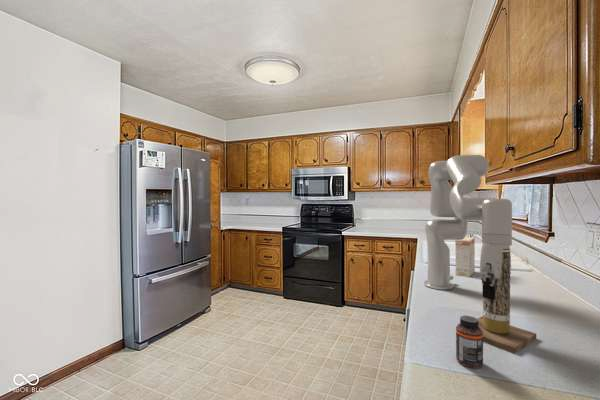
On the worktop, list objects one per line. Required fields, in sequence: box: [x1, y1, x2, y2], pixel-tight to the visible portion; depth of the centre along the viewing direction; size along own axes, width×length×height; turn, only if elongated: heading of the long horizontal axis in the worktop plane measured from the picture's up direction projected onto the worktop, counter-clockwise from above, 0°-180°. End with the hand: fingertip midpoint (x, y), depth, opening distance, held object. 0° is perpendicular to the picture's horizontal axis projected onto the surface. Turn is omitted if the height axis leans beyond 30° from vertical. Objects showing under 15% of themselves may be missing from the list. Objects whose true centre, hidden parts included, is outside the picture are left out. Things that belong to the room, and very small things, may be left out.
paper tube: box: [482, 248, 511, 334], centre depth 88 cm, size 7×7×25 cm
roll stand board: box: [477, 316, 537, 354], centre depth 88 cm, size 15×15×2 cm
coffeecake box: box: [454, 236, 476, 278], centre depth 160 cm, size 15×7×20 cm, turn 139°
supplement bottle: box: [455, 315, 484, 369], centre depth 73 cm, size 6×6×11 cm
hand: (496, 295), depth 88 cm, fingers open, 9 cm apart
